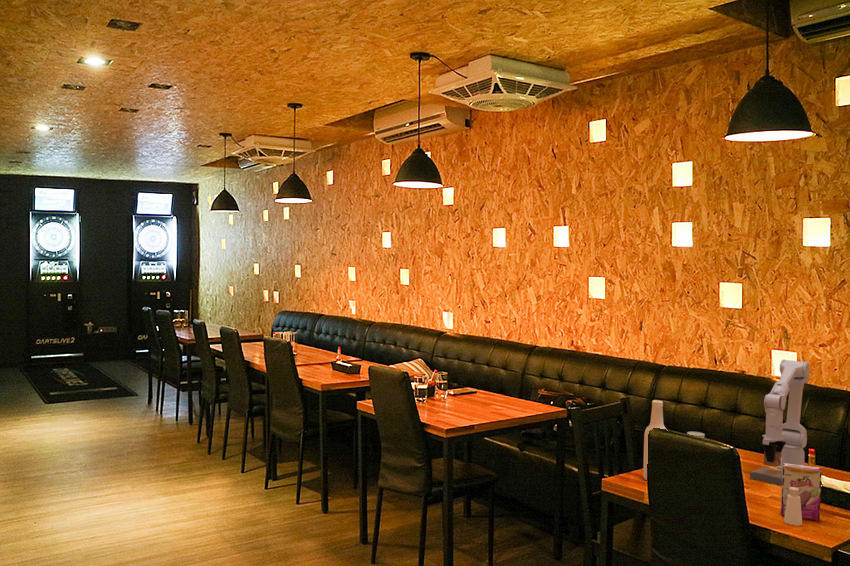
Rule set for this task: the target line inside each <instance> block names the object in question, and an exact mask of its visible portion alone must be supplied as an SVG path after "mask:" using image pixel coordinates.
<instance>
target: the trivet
mask: <svg viewBox="0 0 850 566" xmlns="http://www.w3.org/2000/svg"><path fill="white" fill-rule="evenodd" d="M750 478H751V479H750ZM749 479H750V480H754V479H755V480H754V481H758V480H759V482H762V481H764V482H763V483H766V482H768V483H767V484H771V483H773V484H772V485H775V484H777V485H776V486H779V485H781V486H780V487H782V470H781V469H780V470H779V469H774V468H771V467H766V466H765V467H760V468H757V469H755V470H752V471H750V472H749Z"/></svg>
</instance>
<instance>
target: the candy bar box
mask: <svg viewBox="0 0 850 566" xmlns="http://www.w3.org/2000/svg"><path fill="white" fill-rule="evenodd" d="M821 469H822V468H821V467H819V466H818V467H817V466H811V465H810V466H809V465H805V464H804V465H796V464H789V463H783V468H782V469H781V471H782V486H781V493H780V495H781V496H780V515H781V516H783V517H784V516H785V509H786V502H787V496H788V495H789V488H790V487H795V488H798V489H799V494H798V496H800V501H801V514H802V520H810V521H817V522H820V514H821V493H822V492H821V491H822V470H821Z"/></svg>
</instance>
